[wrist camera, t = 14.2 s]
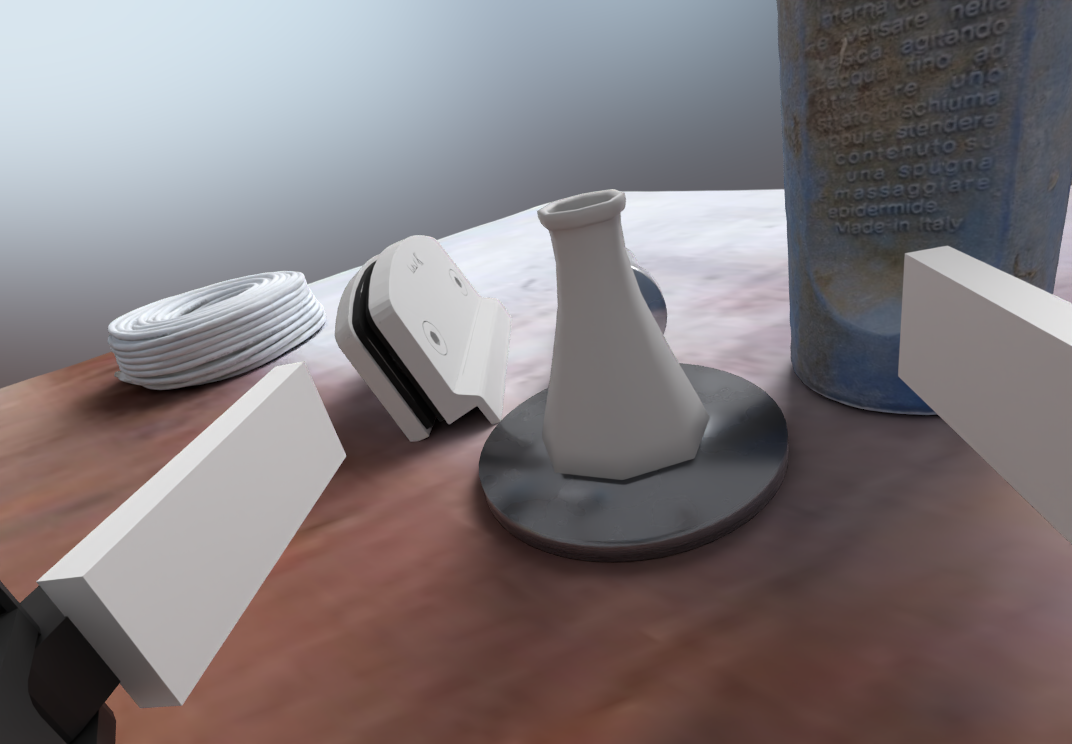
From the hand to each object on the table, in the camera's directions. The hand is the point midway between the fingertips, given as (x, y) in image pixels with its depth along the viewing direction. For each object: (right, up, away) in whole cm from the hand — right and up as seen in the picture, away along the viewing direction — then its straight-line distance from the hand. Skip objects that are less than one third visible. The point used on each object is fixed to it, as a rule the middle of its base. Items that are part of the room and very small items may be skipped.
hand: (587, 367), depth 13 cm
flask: (+3, -3, +12) cm, 13 cm away
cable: (-29, +2, +41) cm, 51 cm away
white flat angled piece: (-7, 0, +25) cm, 26 cm away
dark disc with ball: (+3, -1, +18) cm, 19 cm away
